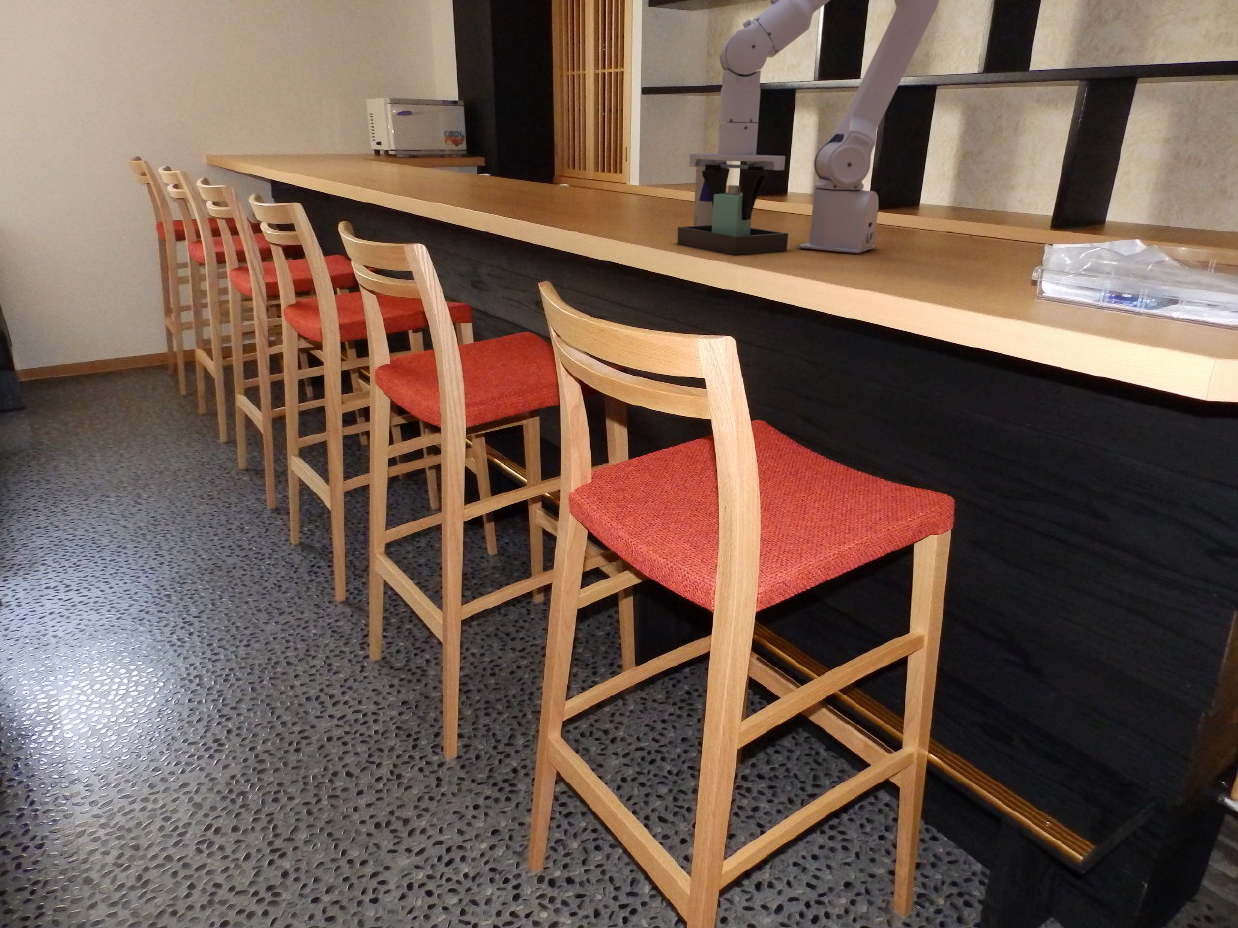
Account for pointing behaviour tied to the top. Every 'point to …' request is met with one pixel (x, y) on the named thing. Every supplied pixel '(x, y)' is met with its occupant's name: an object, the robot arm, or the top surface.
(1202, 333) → the top surface
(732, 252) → the tray
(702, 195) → the energy drink
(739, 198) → the detergent bottle
